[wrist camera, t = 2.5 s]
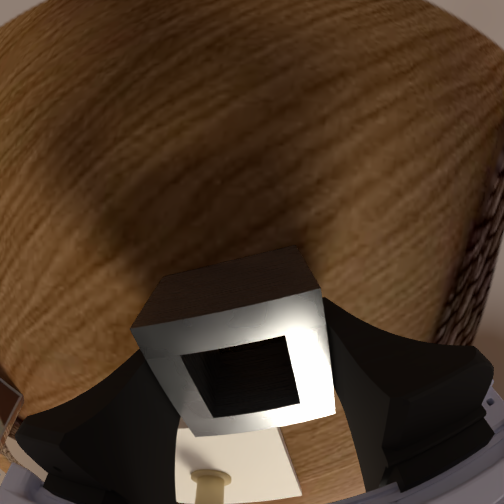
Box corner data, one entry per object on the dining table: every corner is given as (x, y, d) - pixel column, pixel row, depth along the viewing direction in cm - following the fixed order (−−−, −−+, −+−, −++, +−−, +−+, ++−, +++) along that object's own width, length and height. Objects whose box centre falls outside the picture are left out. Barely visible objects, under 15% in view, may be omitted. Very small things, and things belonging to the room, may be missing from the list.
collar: (295, 244, 11) (320, 287, 7) (315, 352, 13) (335, 413, 9) (163, 277, 11) (129, 328, 8) (204, 375, 13) (195, 436, 9)
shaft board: (271, 404, 14) (280, 488, 9) (300, 486, 18) (308, 534, 13) (99, 416, 14) (73, 475, 9) (179, 495, 19) (174, 537, 13)
